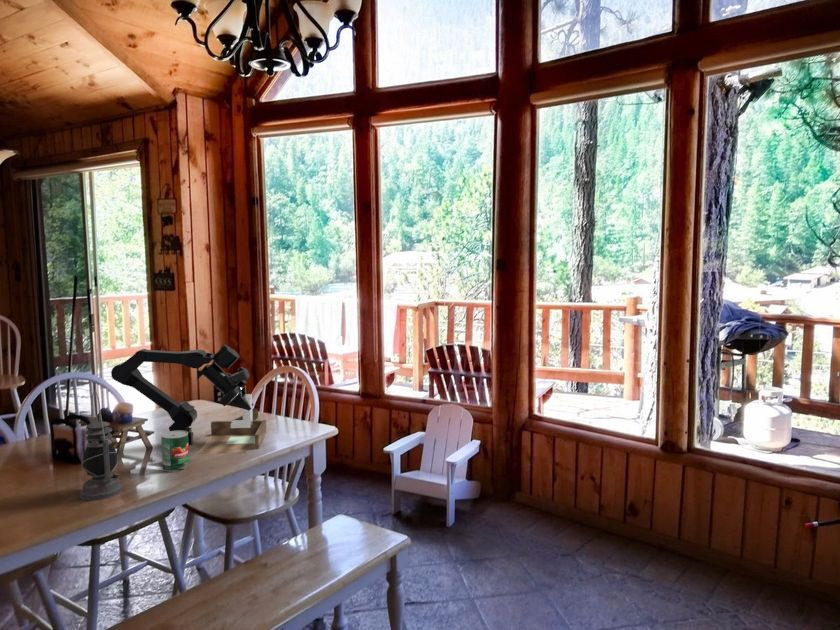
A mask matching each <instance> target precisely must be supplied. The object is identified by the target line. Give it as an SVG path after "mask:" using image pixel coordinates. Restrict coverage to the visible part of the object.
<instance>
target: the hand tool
mask: <svg viewBox="0 0 840 630" xmlns="http://www.w3.org/2000/svg"><path fill="white" fill-rule="evenodd" d="M252 416H253V420H258V418H259V410H258V409H257V408H256V407H255V408H252ZM233 420H243V415H242V416H241V415H240V416H238V417H237V418H235V419H233ZM233 420H231V421H233Z"/></svg>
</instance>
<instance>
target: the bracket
mask: <svg viewBox="0 0 840 630" xmlns="http://www.w3.org/2000/svg"><path fill="white" fill-rule="evenodd" d="M243 398H244V400H245V401H246V402H247V403H248V405H249V406H250V407H251V410H250V411H248V410H245V409H242V416H243V420H235V419H233V421H232V420H231V421H232V423H231V428H251V426H252V424H253V416H252V409H253V406H252V403H253V394H252V393H247V394H245V395H244V396H243Z"/></svg>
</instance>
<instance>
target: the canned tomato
mask: <svg viewBox="0 0 840 630" xmlns="http://www.w3.org/2000/svg"><path fill="white" fill-rule="evenodd" d="M160 436H161V459H162V460H161V461H162V463H161V465H162V470H163V471H165V472H169V473H172V472H173V473H175V472H180V471H185V468H184V467H186V466H188V465H189V463H190V459H189V457H190V454H189V453H190V450H189V445H188V432H187V431H183V430H176V431H170V430H169V431H166V432H163V433H162V434H161V435H160Z"/></svg>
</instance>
